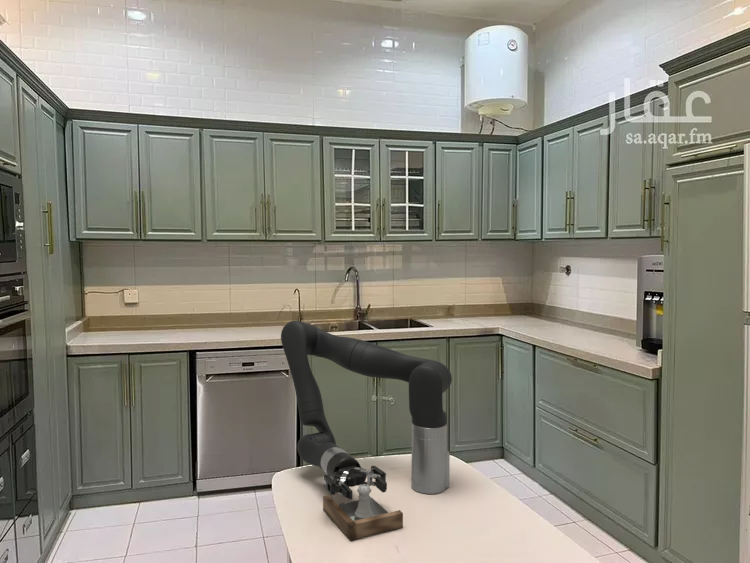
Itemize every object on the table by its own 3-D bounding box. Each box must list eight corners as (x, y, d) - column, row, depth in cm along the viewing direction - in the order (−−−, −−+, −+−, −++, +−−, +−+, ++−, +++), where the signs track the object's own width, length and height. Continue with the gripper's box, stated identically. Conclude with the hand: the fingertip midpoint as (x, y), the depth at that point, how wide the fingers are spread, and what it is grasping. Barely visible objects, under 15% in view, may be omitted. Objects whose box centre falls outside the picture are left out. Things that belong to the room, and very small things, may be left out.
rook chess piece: (371, 526, 122) (372, 491, 122) (352, 524, 123) (352, 489, 122) (375, 516, 126) (375, 483, 126) (356, 514, 127) (356, 481, 127)
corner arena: (371, 499, 137) (371, 485, 137) (402, 528, 123) (402, 512, 123) (323, 510, 131) (323, 495, 131) (350, 541, 117) (350, 525, 117)
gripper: (313, 456, 134) (339, 481, 119) (365, 447, 140) (396, 469, 126) (313, 486, 134) (338, 514, 120) (365, 476, 140) (395, 501, 126)
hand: (368, 491), depth 123 cm, fingers open, 8 cm apart
